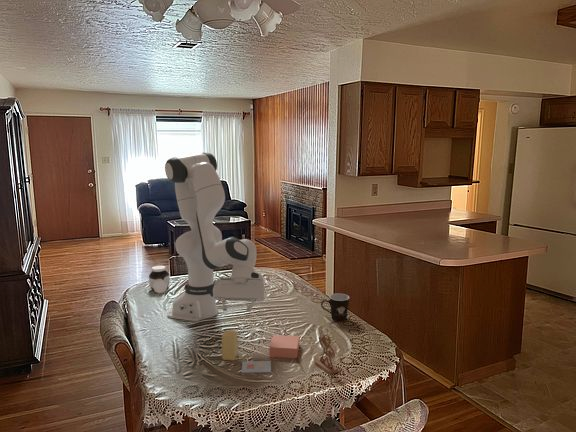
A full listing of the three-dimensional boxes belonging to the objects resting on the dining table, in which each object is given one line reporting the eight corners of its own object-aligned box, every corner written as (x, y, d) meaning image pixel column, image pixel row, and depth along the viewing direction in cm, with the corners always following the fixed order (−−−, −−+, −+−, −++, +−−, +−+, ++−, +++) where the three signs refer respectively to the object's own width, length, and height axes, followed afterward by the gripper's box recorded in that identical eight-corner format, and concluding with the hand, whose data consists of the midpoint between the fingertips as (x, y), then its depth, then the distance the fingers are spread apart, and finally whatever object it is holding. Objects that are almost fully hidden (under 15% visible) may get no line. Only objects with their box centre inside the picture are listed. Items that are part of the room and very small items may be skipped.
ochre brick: (222, 359, 155) (221, 335, 153) (225, 353, 159) (225, 330, 158) (234, 360, 154) (233, 336, 153) (237, 354, 159) (237, 331, 157)
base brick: (269, 357, 157) (269, 347, 156) (273, 344, 166) (273, 334, 166) (296, 359, 156) (296, 348, 155) (299, 345, 165) (299, 336, 165)
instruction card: (241, 372, 146) (241, 371, 146) (242, 362, 153) (242, 361, 153) (270, 372, 146) (270, 371, 146) (270, 361, 153) (270, 360, 153)
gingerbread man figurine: (339, 371, 146) (339, 338, 144) (330, 374, 144) (330, 341, 142) (323, 360, 154) (323, 328, 152) (314, 363, 152) (314, 331, 150)
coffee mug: (350, 316, 192) (351, 294, 190) (346, 323, 184) (347, 301, 182) (325, 312, 196) (325, 291, 194) (320, 320, 188) (320, 298, 186)
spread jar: (162, 284, 234) (161, 263, 232) (176, 288, 228) (175, 267, 226) (144, 290, 225) (142, 269, 223) (157, 295, 218) (156, 273, 216)
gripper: (214, 273, 170) (208, 306, 163) (265, 274, 168) (261, 308, 160) (218, 280, 175) (212, 312, 168) (268, 282, 173) (264, 314, 165)
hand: (236, 310), depth 164 cm, fingers open, 8 cm apart
